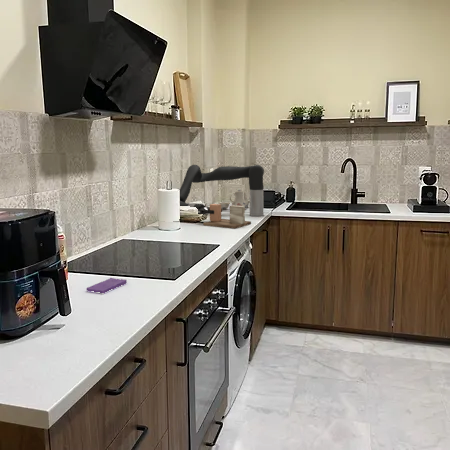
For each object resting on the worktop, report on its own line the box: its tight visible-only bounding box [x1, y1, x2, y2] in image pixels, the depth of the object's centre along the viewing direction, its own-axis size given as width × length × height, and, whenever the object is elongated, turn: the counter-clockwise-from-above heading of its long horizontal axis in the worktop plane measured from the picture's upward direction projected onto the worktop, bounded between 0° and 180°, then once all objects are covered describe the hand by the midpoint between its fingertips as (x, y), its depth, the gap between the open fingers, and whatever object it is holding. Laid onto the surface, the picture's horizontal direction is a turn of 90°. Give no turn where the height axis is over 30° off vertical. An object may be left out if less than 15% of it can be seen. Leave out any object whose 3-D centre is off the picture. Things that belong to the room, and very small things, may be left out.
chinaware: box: [217, 187, 250, 211], centre depth 335 cm, size 28×17×17 cm, turn 126°
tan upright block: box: [209, 203, 222, 221], centre depth 277 cm, size 4×6×10 cm, turn 56°
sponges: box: [86, 277, 128, 294], centre depth 157 cm, size 7×13×2 cm, turn 154°
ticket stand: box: [203, 204, 252, 230], centre depth 273 cm, size 18×22×12 cm
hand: (217, 211), depth 276 cm, fingers open, 8 cm apart
